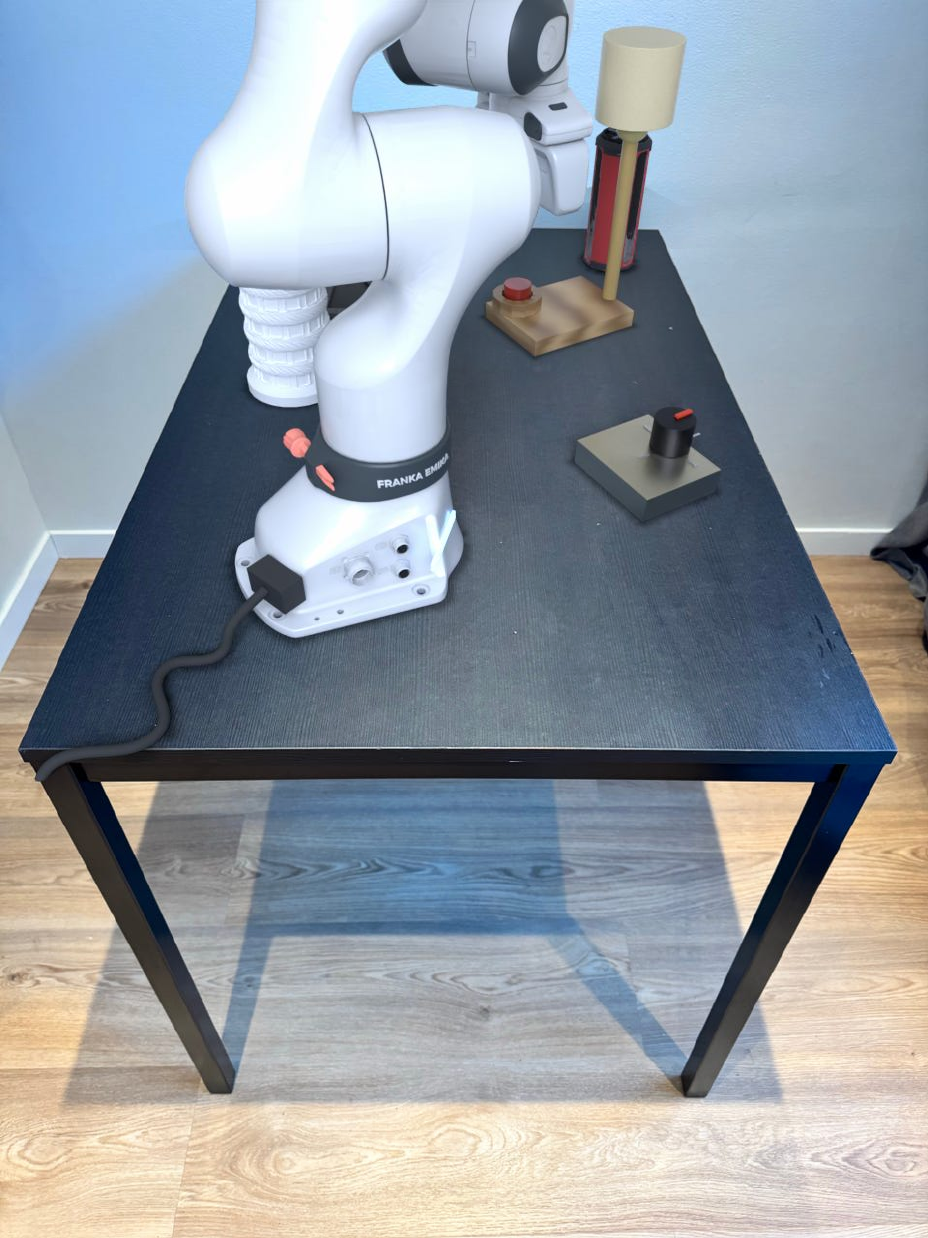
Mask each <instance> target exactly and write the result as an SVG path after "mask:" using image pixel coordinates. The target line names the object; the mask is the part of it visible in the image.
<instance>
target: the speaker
mask: <svg viewBox="0 0 928 1238" xmlns="http://www.w3.org/2000/svg"><path fill="white" fill-rule="evenodd" d="M622 143H623V140H622V139H621V138H620V137H619V136H618V134H617V131H616V129H614V128H610V127H606V128H604V129H603V130H602V131H601V132H600V133H599V134H598V135H596V137H595V143H594V144H595V146H596V147H595V154H594V164H593V174H592V183H591V191H590V202H589V210H588V218H587V219H588V220H587V227H586V228H587V229H586V237H585V246H584V250H583V254H582V261H583V262H584V264H585V265H586V266H588V267H589V269H592V270H594V271H597V272H598V271H600V272H601V271H602V272H606V266H607V258H608V250H609V243H610V235H611V228H612V220H613V212H614V205H615V197H616V189H617V182H618V174H619V166H620V159H621V151H622ZM652 149H653V139H652V138H651V137H650V135H649V133H647V135H646V136H645V137H644V138H643V139H642V140H640V141H638V147H637V154H636V162H635V169H634V176H633V183H632V190H631V197H630V204H629V211H628V218H627V225H626V232H625V239H624V246H623V253H622V260H621V267H620V272H621V271H622V272H623V271H627V270H629V269H630V268H631V267H632V266H633V265H635V259H636V253H635V252H636V243H637V238H638V232H639V226H640V218H641V213H642V205H643V198H644V191H645V186H646V178H647V173H648V166H649V158H650V153H651V151H652Z"/></svg>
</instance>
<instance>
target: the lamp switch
mask: <svg viewBox="0 0 928 1238" xmlns="http://www.w3.org/2000/svg"><path fill="white" fill-rule="evenodd" d="M503 284H504V297H505V298H506V299H509V300H512V301H524V300H527V299H530V297H531V285H532V281H531V280H530V279H527V278H525V277H524V278H523V277H520V276H519V277H515V276H514V277H510V278H507V279H506V280H505V281H504V282H503Z"/></svg>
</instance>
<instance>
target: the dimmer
mask: <svg viewBox="0 0 928 1238" xmlns="http://www.w3.org/2000/svg"><path fill="white" fill-rule="evenodd" d="M653 421H654V416H652V415H650V413H649V414H648V413H647V414H644V415H642V416H639V417H637V418H634V419H632V420H629V421H626V422H623V423H620V424H617V425H615V426H612V427H609V428H607V429H604V430H601V431H599V432H595V433H593V434H590V435H587V436H585V437H582V438H579V439H577V440H576V446H575V453H574V454H575V455H574V464H576V465H577V466H578V467H579V468H580V469H581V470H582V471H583V472H584V473H586V474H587V475H588V476H589V477H590V478H592V480H594V481H595V482H596V483H597V484H598V485H599V486H601V487H602V488H603V489H604V490H605V491H606V492H607V493H608V494H609V495H611V496H612V497H613V498H614V499H615V500H616V501H617V502H618V503H619V504H621V505H622V506H623V507H624V508H625V509H626V510H627V511H629V512H630V513H631V514H632V515H633V516H634V517H636V518H637V519H638V520H639V521H640V522H641V523H645V522H648V521H649V520H652V519H655V518H656V517H659V516H662V515H664V514H666V513H668V512H669V513H670V512H671V511H674V510H676V509H678V508H681V507H683V506H685V505H689V504H690V503H692V502H693V503H694V502H695V501H697V500H700V499H702V498H704V497H707V496H709V495H711V494H714V493H716V490H717V486H718V482H719V479H720V476H721V471H722V469H721V468H720V467H718V466H717V465H715V464H714V463H713V462H712V461H710V460H709V459H708V458H706V457H705V456H704V455H703V454H701V453H700V452H698V451H697V449H695V448H694V447H692V446H691V447H690V451H689V452H688V453H687V454H686V455H684V456H682V457H677V458H669V457H664V456H661V455H658V454H657V453H655V452H654V451H653V450H652V449H651V448H650V445H649V441H650V436H651V431H652V426H653ZM700 436H702V434H701V433H700V432H697V433H694V435H693V439H695V438H698V437H700Z"/></svg>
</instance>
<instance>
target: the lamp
mask: <svg viewBox="0 0 928 1238" xmlns="http://www.w3.org/2000/svg"><path fill="white" fill-rule="evenodd" d="M601 41H602V42H601V52H600V60H599V70H598V79H597V86H596V88H597V89H596V98H595V107H594V120H595V121H596V122H597V123H599V124H601V125H603V126H605V127H606V128H608V127H610V128H614V129H616V131H617V134H618V136H619V137H620V138H621V139H622V140H623V143H622V151H621V159H620V166H619V174H618V182H617V189H616V197H615V205H614V212H613V220H612V228H611V235H610V243H609V250H608V258H607V266H606V271H605V276H604V283H603V289H602V290H603V298H604V299H606V300H614V299H615V298H616V299H617V295H618V294H617V293H618V288H619V281H620V280H619V279H620V273H621V271H620V267H621V260H622V253H623V246H624V239H625V232H626V225H627V218H628V211H629V204H630V197H631V190H632V183H633V176H634V169H635V162H636V154H637V147H638V141H640V140H642V139H643V138H644V137H645V136H646V135H647V134H649V132H655V131H660V130H664V129H667V128H668V127H670V126H672V124H673V123H674V121H675V114H676V107H677V101H678V97H679V96H678V95H679V89H680V84H681V78H682V71H683V66H684V61H685V60H684V59H685V54H686V47H687V42H688V39H687V37H686V36H685V35H683V34H682V33H680V32H678V31H675V30H672V29H667V28H662V27H655V26H644V25H643V26H642V25H641V26H640V25H639V26H637V25H636V26H635V25H634V26H633V25H632V26H622V27H616V28H615V27H614V28H611V29H608V30H606V31H604V32H603V34H602V40H601Z"/></svg>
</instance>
